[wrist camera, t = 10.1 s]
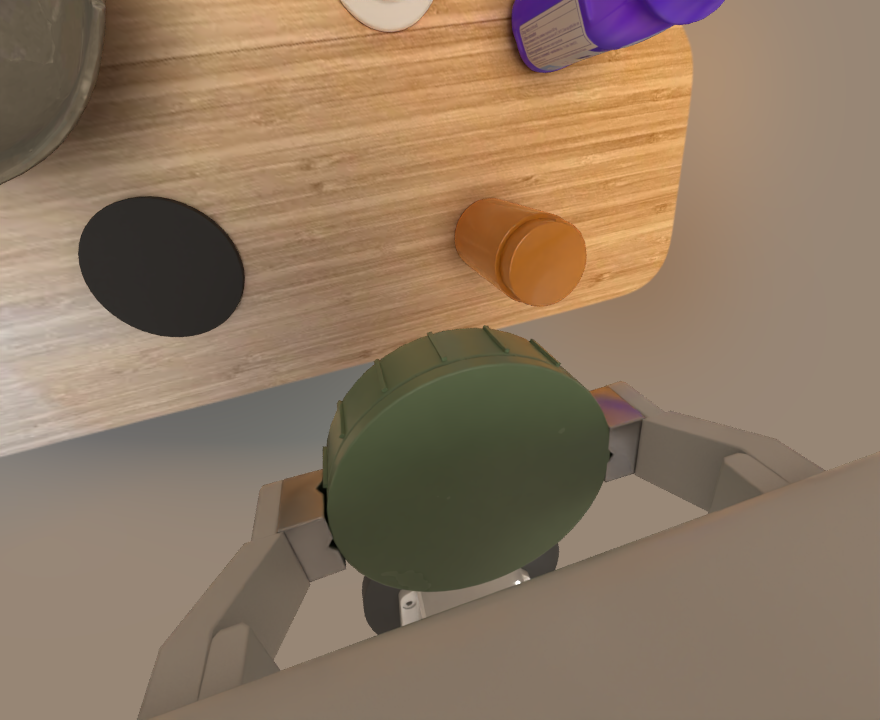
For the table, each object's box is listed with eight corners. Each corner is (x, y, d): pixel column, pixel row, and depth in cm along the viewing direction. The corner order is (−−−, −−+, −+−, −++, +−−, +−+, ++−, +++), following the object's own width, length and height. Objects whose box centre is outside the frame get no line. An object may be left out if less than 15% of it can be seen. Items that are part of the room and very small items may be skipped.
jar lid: (372, 290, 8) (384, 323, 7) (612, 361, 11) (662, 398, 9) (296, 526, 11) (292, 594, 9) (508, 538, 13) (535, 593, 12)
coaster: (245, 337, 33) (243, 341, 32) (96, 328, 30) (91, 332, 29) (243, 209, 29) (241, 211, 28) (70, 183, 26) (63, 184, 25)
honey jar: (509, 273, 37) (573, 314, 28) (448, 265, 35) (494, 306, 26) (528, 204, 34) (604, 224, 25) (462, 191, 32) (519, 208, 23)
